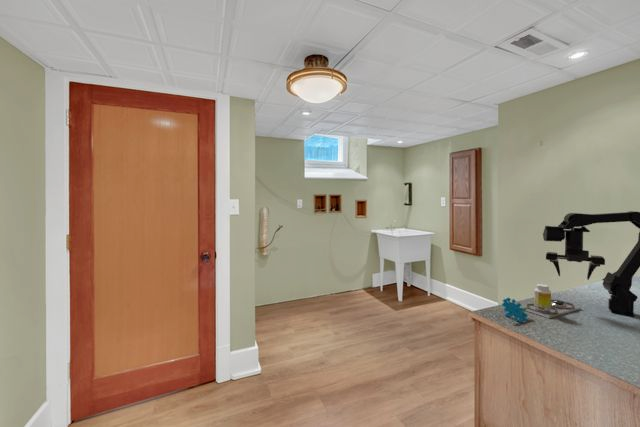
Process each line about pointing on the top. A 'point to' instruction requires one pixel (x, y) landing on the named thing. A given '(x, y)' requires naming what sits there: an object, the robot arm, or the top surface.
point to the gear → (514, 310)
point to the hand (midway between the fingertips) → (573, 277)
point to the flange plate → (553, 308)
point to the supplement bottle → (542, 297)
